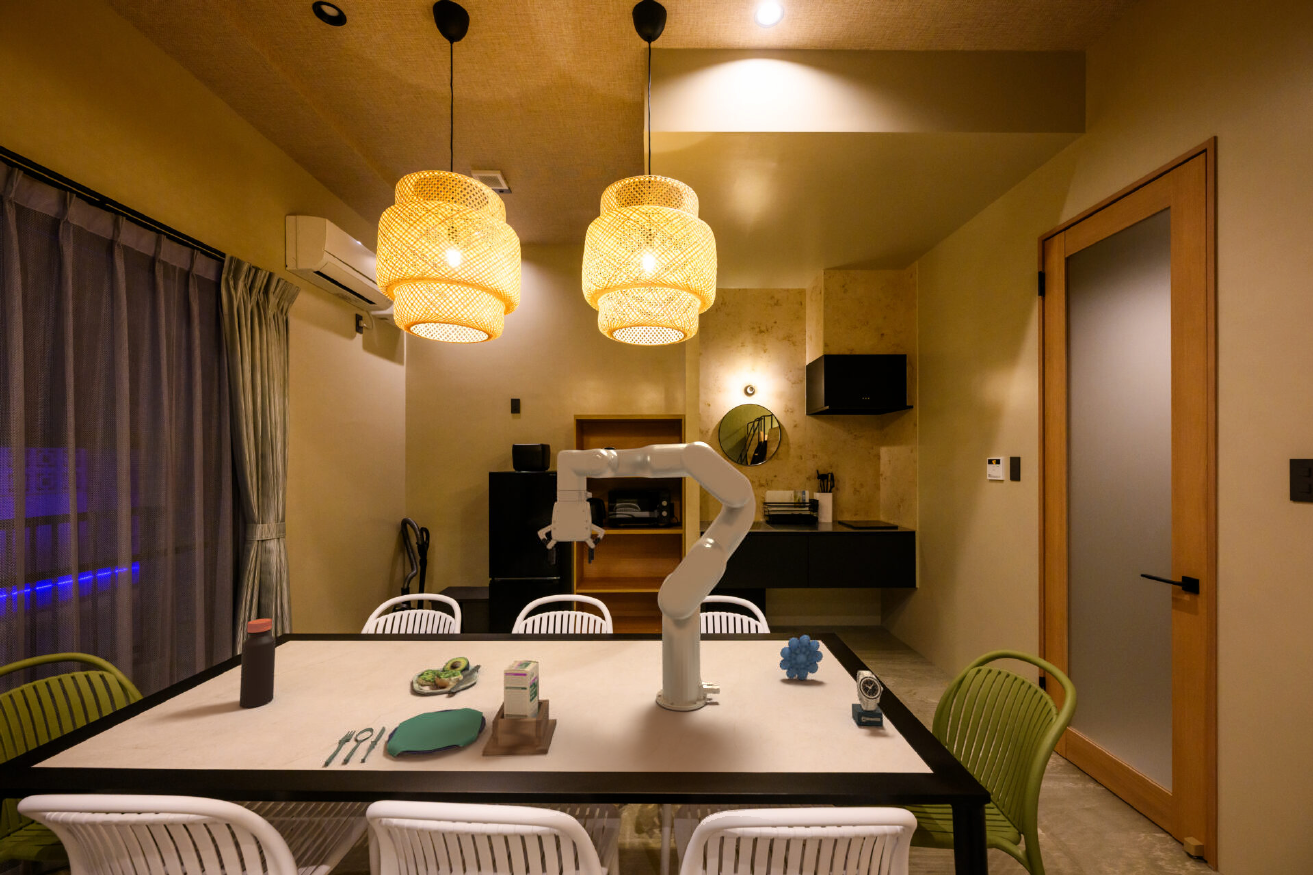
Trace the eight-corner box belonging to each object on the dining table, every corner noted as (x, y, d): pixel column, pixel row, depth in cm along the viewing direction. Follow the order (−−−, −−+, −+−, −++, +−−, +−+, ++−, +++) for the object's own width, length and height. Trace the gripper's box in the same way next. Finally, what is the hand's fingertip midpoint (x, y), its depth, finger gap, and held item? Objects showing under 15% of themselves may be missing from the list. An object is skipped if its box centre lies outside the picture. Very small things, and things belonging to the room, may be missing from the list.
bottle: (276, 702, 133) (279, 620, 134) (242, 711, 128) (245, 626, 129) (269, 694, 138) (272, 615, 139) (236, 703, 133) (240, 621, 134)
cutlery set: (481, 754, 108) (481, 743, 108) (316, 776, 102) (317, 763, 102) (490, 712, 127) (490, 702, 127) (352, 728, 121) (352, 718, 121)
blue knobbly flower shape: (820, 674, 149) (819, 630, 150) (825, 683, 142) (824, 638, 143) (777, 672, 150) (776, 629, 151) (781, 682, 143) (780, 637, 144)
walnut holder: (556, 723, 121) (556, 696, 121) (547, 753, 108) (547, 723, 108) (498, 725, 120) (498, 697, 121) (482, 755, 107) (482, 725, 108)
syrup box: (529, 741, 111) (530, 670, 112) (502, 739, 112) (503, 668, 113) (539, 728, 116) (540, 660, 117) (513, 726, 117) (514, 659, 118)
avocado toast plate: (486, 692, 139) (486, 674, 139) (410, 705, 132) (411, 685, 132) (479, 667, 156) (480, 651, 157) (413, 677, 149) (413, 660, 150)
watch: (860, 730, 117) (858, 679, 117) (850, 713, 125) (848, 665, 125) (886, 731, 116) (884, 679, 117) (874, 714, 124) (873, 666, 125)
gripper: (605, 496, 144) (605, 560, 142) (540, 496, 143) (540, 561, 142) (604, 497, 136) (604, 565, 135) (535, 498, 135) (535, 566, 134)
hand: (571, 563), depth 138 cm, fingers open, 9 cm apart
